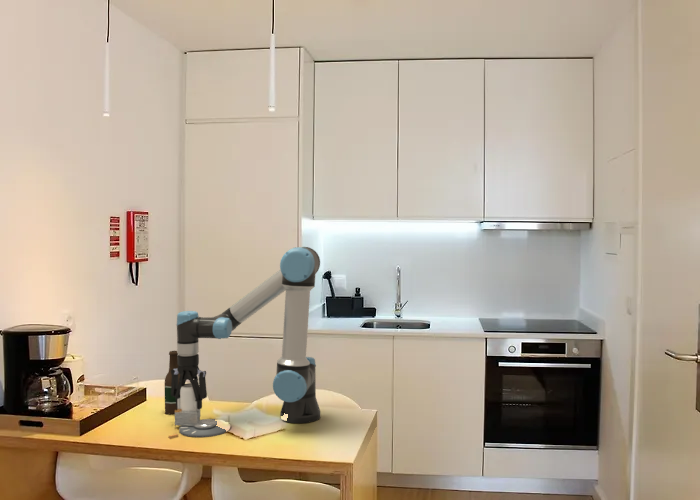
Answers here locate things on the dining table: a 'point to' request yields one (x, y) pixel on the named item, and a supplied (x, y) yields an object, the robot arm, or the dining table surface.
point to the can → (187, 397)
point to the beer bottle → (170, 400)
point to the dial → (192, 419)
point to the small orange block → (173, 436)
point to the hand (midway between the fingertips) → (189, 416)
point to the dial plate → (200, 431)
